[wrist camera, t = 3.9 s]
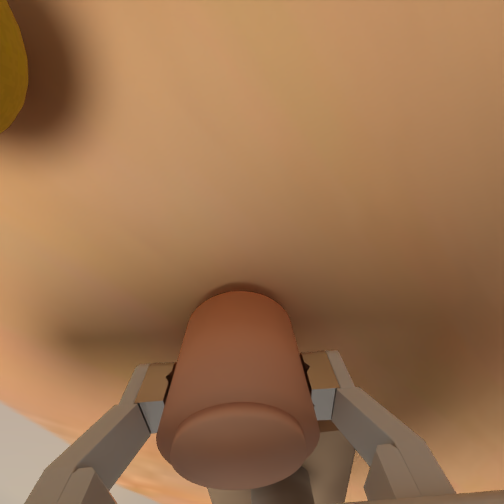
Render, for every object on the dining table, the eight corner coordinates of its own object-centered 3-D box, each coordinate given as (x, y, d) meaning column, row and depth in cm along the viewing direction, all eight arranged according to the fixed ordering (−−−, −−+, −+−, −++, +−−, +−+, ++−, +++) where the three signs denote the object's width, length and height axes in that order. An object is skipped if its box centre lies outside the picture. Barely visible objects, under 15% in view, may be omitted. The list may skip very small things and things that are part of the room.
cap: (292, 286, 10) (330, 397, 6) (291, 366, 13) (318, 490, 8) (177, 295, 10) (129, 413, 6) (196, 373, 12) (171, 502, 8)
